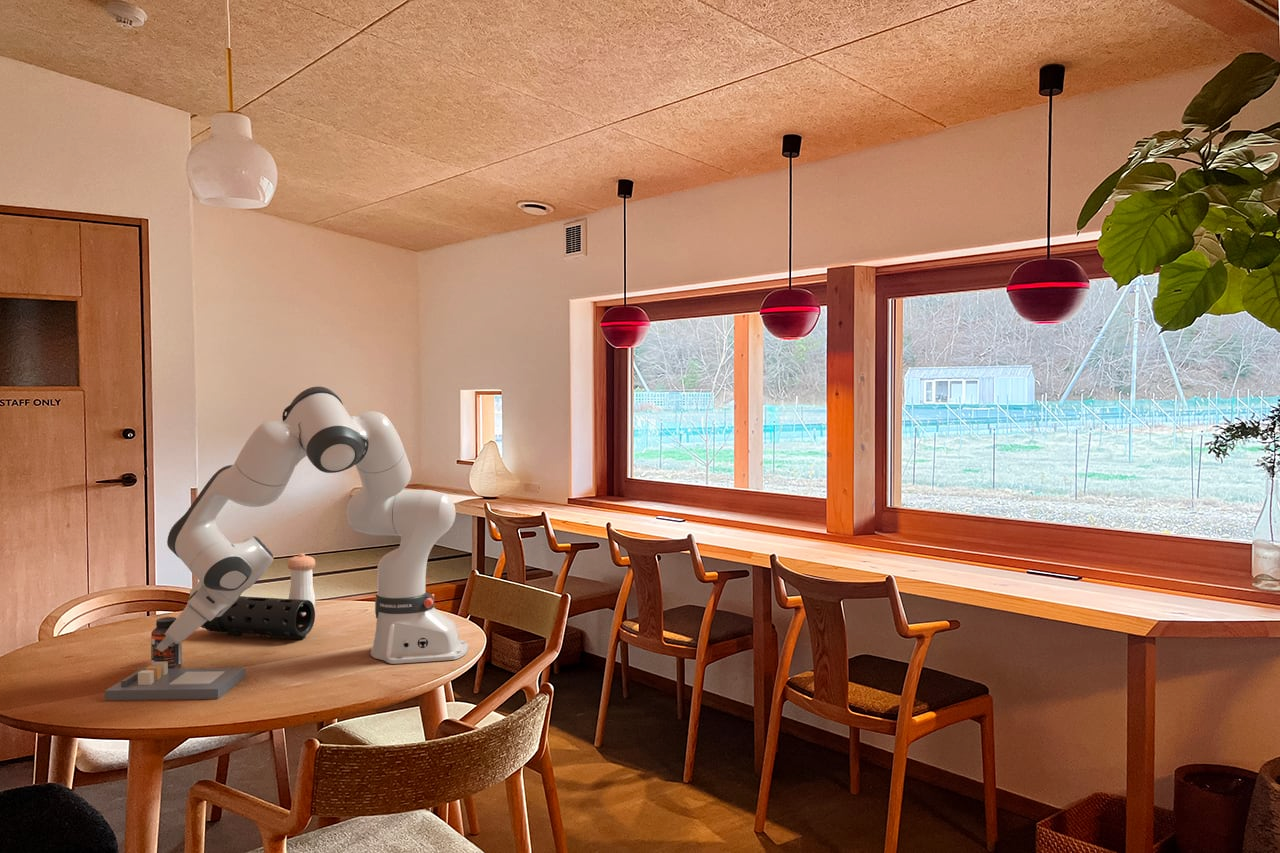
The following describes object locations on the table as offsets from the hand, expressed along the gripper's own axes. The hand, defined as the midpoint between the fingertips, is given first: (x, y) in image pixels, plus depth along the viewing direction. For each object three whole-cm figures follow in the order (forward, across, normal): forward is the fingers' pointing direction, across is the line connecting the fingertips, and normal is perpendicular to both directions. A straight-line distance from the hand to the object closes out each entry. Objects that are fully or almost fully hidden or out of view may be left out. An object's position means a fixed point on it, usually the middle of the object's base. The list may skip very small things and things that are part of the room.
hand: (163, 644), depth 195 cm
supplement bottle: (+4, 0, +5) cm, 6 cm away
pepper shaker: (-14, -34, +23) cm, 43 cm away
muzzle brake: (-7, -25, +16) cm, 30 cm away
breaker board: (0, +14, +8) cm, 16 cm away
